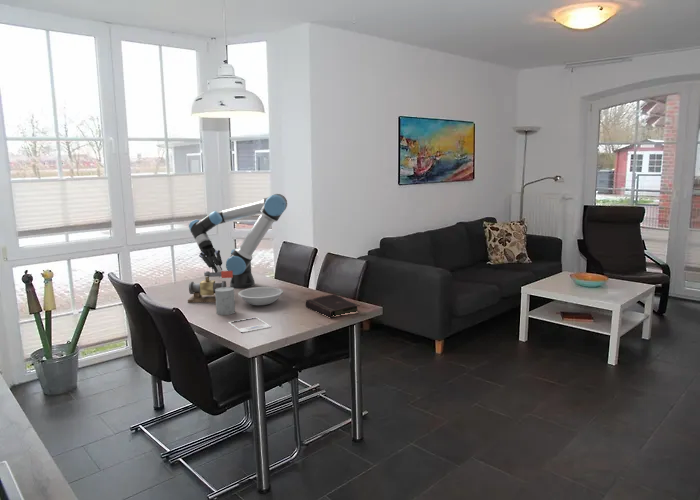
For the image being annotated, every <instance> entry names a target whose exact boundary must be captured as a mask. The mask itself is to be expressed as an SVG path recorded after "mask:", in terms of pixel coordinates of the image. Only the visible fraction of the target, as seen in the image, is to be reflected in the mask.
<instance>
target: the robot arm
mask: <svg viewBox="0 0 700 500" xmlns="http://www.w3.org/2000/svg"><path fill="white" fill-rule="evenodd" d="M287 207H288V200H287V198H286V197H285V195H283V194H280V193H275V194H274V193H273V194H271V195H269V196H268V197H264V198H263V199H261V200H258V201H255V202H252V203H247V204H243V205H239V206H236V207H231V208H227V209H223V210H218V211H217V210H213V211H212V212H210V213H209V214H208V215H206V216H205V217H204V218H202V219H201V220H200V219H194V220H191V221H190V222H189V224H188V228H189V231H190V233H191V235H192V236H193V238H194V240H195V242H196V245H197V246H198V249H199V250H200V253H199V255H198V257H199V258H200V259H202V260H203V262H204V263H205V264H206V266H208V268H209V269H212V270H213V271H214V272H221V271H223V268H222V265H223V260H222V257H221V250H219V249H218V250H216V248H215V247H214V245H213V243H212V241H211V239H210V237H209V235H208V234H207V232H209V231H210V230H212V229H213V228H214V227H217V226H218V225H221V224H224V223H225V224H226V223H229V222H232V221H237V220H241V219H245V218H250V217H254V216H256V215H259V216H258V218H257V219H256V221H255V223H254V225H252V227H251V229H250V230H249V232H248V233H247V235H246V236H245V238H244V239H243V241H242V242H241V243H240V246H238V247H235V248H234V249H231V252H230V256H229V257H228V258H227V260H226V262H225V268H226V271H233V278H230V282H229V287H233V288H234V289H235V288H236V289H247V288H252V287H253V286H255V285H256V284H255V279H254V275H253V273H252V260H253V254H254V253H255V251H256V250H257V248H258V246H259V245H260V243H261V242H262V240H263V239H264V237H265V235H266V234H267V233H268V231H269V230H270V228H271V227H272V225H273V224H274V223H275V222H278V221H279V219H280V218H281V217H282V215H283V213H284V212H285V211H286V209H287ZM218 278H222V276H219V277H218Z"/></svg>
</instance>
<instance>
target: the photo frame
mask: <svg viewBox="0 0 700 500" xmlns="http://www.w3.org/2000/svg"><path fill="white" fill-rule="evenodd" d="M252 318H253V319H256V320H258V321H259V320H260V321H259V322H261V323H262V322H263V323H262V324H257V325H252V326H247V327H242V328H239V327H237V325H235V324H233V323H235V322H234V321H235V320H233V321H227V322H228V325H230V324H231V325H230V326H231V327H233V326H234V327H235V328H234V327H233V328H234V329H236V330H237V329H238V330H239V331H238V330H237V331H238V332H240V333H241V332H246V333H249V332H248V331H251V332H253V331H252V330H256V331H258V330H257V329H261V330H264V329H263V328H266V329H270V328H269V327H271V328H272V326H271V324H268V323H267V322H265V321H264V320H262V319H261V318H259V317H258V316H254V317H249V318H244V319H238V320H236V321H237V322H241V321H240V320H242V321H246V319H248V320H251V319H252ZM264 323H265V324H264Z"/></svg>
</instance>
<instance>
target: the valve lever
mask: <svg viewBox="0 0 700 500" xmlns="http://www.w3.org/2000/svg"><path fill="white" fill-rule="evenodd" d="M203 274H204V275H203V276H204V277H209V278H212V277H213V278H216V277H218V278H220V277H219V276H222V277H221V279H231V278H233V271H228V270H222V271H221V272H215V271H214V272H213V271H212V272H211V271H204V272H203Z"/></svg>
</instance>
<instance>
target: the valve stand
mask: <svg viewBox="0 0 700 500" xmlns="http://www.w3.org/2000/svg"><path fill="white" fill-rule="evenodd" d="M204 277H205V280H201V281H200V282H197V283H196V282H194V281H190V282H189V284H188V293H189V295H191V296H190V297H189V298H188V299H187V303H188V304H189V303H216V296H215V289H216V288H220V287H227V283H226V281H225V280H223V281H222V282H216V280H215V279H214V280H212V279H211V280H210V277H208V276H204Z"/></svg>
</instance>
